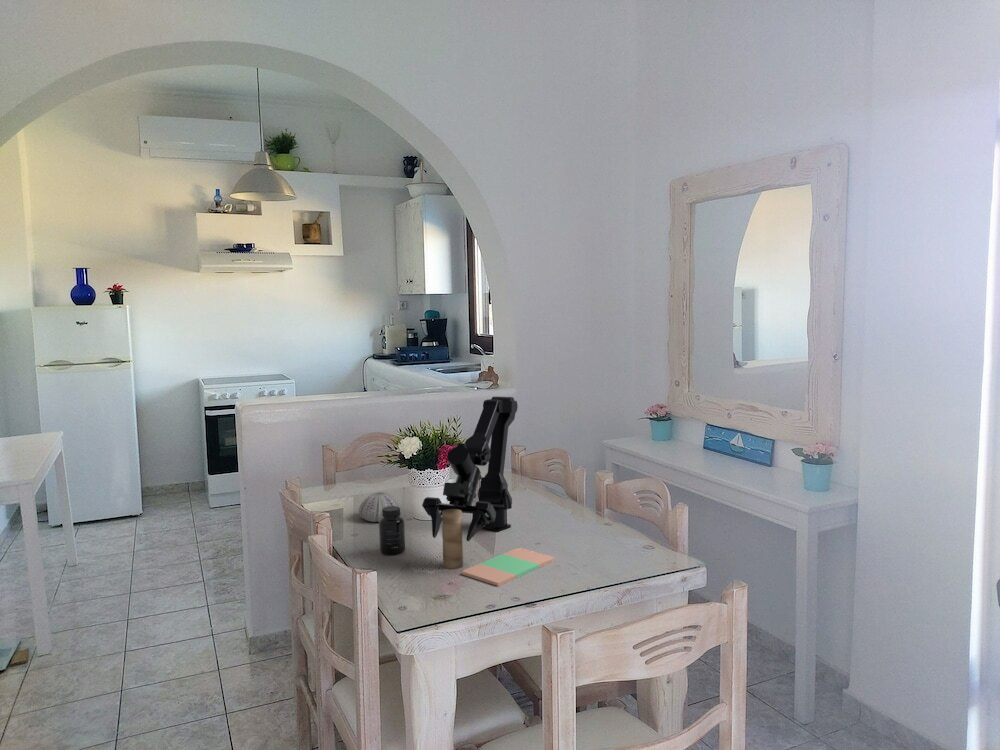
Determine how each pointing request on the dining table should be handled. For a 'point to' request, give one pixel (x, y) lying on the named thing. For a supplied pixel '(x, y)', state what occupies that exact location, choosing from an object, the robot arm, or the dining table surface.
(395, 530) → the supplement bottle
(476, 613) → the dining table surface
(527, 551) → the board
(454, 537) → the walnut peg
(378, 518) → the sea urchin shell
